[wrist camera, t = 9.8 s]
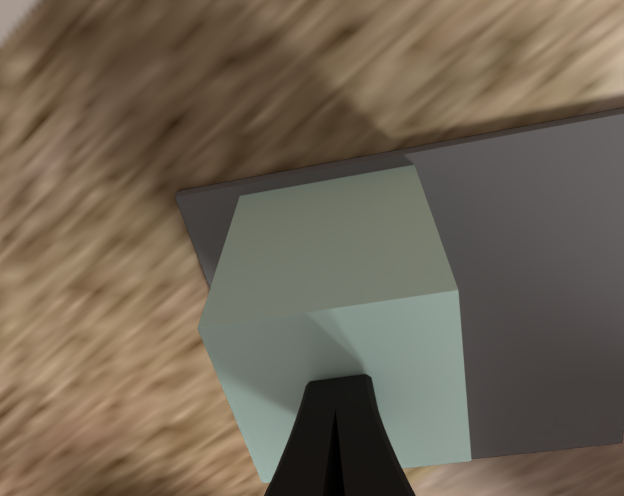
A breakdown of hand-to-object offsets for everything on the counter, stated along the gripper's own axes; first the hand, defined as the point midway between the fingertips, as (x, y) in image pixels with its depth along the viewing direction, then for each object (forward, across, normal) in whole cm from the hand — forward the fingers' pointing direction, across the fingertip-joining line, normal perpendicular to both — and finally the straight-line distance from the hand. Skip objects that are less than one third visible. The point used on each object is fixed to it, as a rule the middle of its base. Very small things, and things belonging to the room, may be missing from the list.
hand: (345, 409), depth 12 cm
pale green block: (+6, 0, 0) cm, 6 cm away
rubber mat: (+7, -2, +4) cm, 8 cm away
